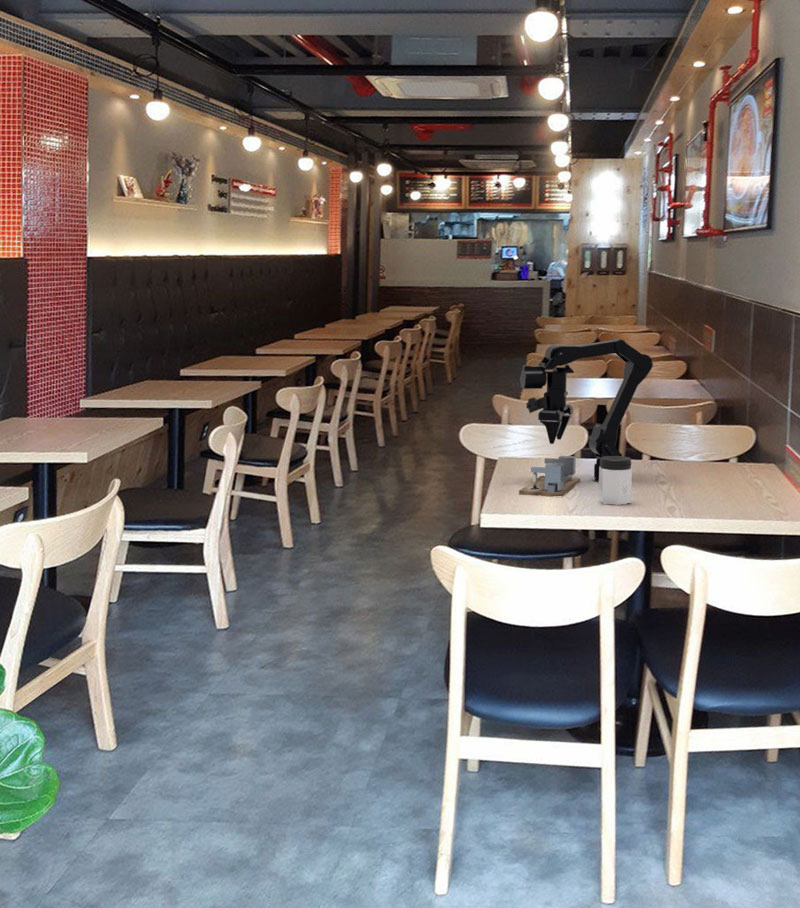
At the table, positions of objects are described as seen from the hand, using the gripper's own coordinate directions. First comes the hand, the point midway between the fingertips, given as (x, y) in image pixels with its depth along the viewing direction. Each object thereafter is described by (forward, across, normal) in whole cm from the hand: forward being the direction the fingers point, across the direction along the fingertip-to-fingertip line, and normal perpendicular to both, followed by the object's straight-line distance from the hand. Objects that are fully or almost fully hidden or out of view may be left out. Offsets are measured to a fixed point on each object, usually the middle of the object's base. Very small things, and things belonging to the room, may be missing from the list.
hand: (555, 441), depth 341 cm
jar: (+12, +24, +22) cm, 35 cm away
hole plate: (+12, +10, +1) cm, 15 cm away
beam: (+11, +11, +2) cm, 15 cm away
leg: (+11, +18, +2) cm, 21 cm away
